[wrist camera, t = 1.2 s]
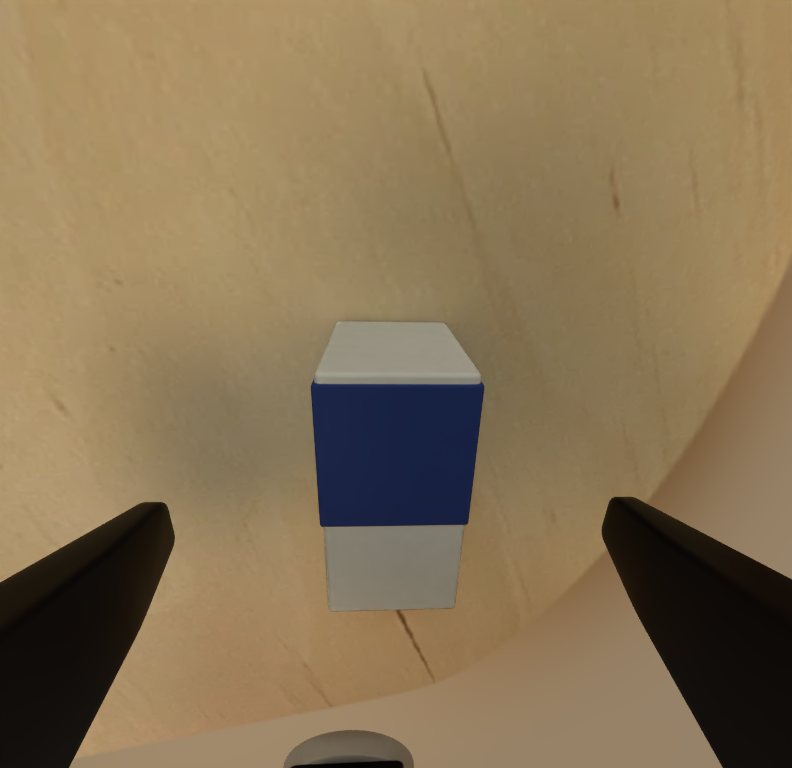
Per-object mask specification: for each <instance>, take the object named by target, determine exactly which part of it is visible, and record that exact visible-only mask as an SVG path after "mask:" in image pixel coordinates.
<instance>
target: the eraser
mask: <svg viewBox="0 0 792 768" xmlns="http://www.w3.org/2000/svg"><path fill="white" fill-rule="evenodd" d="M483 394H484V385H483V383H482V382H481V375H480V372H479V371H478V370H477V368H476V367H475V365H474V364H473V362H472V361H471V360H470V358H469V357H468V355H467V354H466V352H465V351H464V350H463V348H462V347H461V345H460V344H459V342H458V341H457V340H456V338H455V337H454V335H453V334H452V332H451V331H450V330H449V328H448V327H447V325H446V324H445V323H441V322H356V321H338V322H336V324H335V327H334V329H333V332H332V334H331V336H330V339H329V341H328V344H327V346H326V348H325V351H324V353H323V356H322V358H321V360H320V363H319V365H318V368H317V370H316V372H315V375H314V380H313V382H312V385H311V396H312V411H313V426H314V441H315V456H316V471H317V486H318V501H319V516H320V525H321V526H322V527H323V528H324V544H325V560H326V576H327V592H328V607H329V610H330V611H332V612H339V611H377V610H414V609H451V608H454V606H455V601H456V592H457V584H458V575H459V566H460V558H461V549H462V540H463V532H464V525H466V524H468V519H469V511H470V503H471V494H472V486H473V478H474V469H475V461H476V453H477V444H478V436H479V427H480V419H481V411H482V402H483Z"/></svg>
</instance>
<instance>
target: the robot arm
mask: <svg viewBox="0 0 792 768" xmlns="http://www.w3.org/2000/svg"><path fill="white" fill-rule="evenodd" d="M602 537H603V540H604V543H605V545H606V547H607V549H608V552H609V554H610V556H611V558H612V560H613V563H614V565H615V567H616V569H617V572H618V574H619V576H620V578H621V580H622V583H623V585H624V587H625V590H626V592H627V594H628V596H629V598H630V601H631V602H632V605H633V607H634V609H635V611H636V613H637V615H638V617H639V619H640V621H641V622H642V624H643V626H644V628H645V630H646V632H647V633H648V635H649V637H650V639H651V641H652V642H653V644H654V646H655V648H656V649H657V651H658V653H659V655H660V656H661V658H662V660H663V662H664V664H665V665H666V667H667V669H668V670H669V672H670V674H671V676H672V678H673V679H674V681H675V683H676V685H677V687H678V689H679V690H680V692H681V694H682V696H683V697H684V699H685V701H686V703H687V705H688V706H689V708H690V710H691V711H692V714H693V715H694V717H695V719H696V721H697V722H698V724H699V726H700V728H701V730H702V731H703V733H704V735H705V737H706V738H707V740H708V742H709V744H710V746H711V747H712V749H713V751H714V753H715V754H716V756H717V758H718V760H719V762H720V763H721V765H722V767H723V768H792V579H790V578H788V577H786V576H784V575H782V574H780V573H778V572H776V571H775V570H773V569H771V568H769V567H767V566H765V565H763V564H761V563H759V562H757V561H755V560H754V559H752V558H750V557H748V556H746V555H744V554H742V553H740V552H738V551H736V550H734V549H732V548H730V547H728V546H727V545H725V544H722V543H721V542H719V541H717V540H715V539H713V538H711V537H709V536H707V535H705V534H704V533H701V532H700V531H698V530H696V529H694V528H692V527H690V526H688V525H686V524H684V523H683V522H681V521H679V520H677V519H675V518H673V517H671V516H669V515H667V514H665V513H663V512H661V511H660V510H658V509H656V508H654V507H652V506H650V505H648V504H646V503H644V502H642V501H640V500H638V499H636V498H634V497H614V498H612V499H611V500H610V501H609V504H608V507H607V511H606V514H605V518H604V521H603V525H602ZM174 540H175V535H174V530H173V526H172V522H171V518H170V514H169V510H168V507H167V505H166V504H165V503H163V502H144V503H140V504H138V505H136V506H135V507H133V508H131V509H129V510H128V511H126V512H124V513H122V514H120V515H119V516H117V517H115V518H113V519H112V520H110V521H108V522H106V523H105V524H103V525H101V526H99V527H98V528H96V529H94V530H92V531H90V532H89V533H87V534H85V535H83V536H82V537H80V538H78V539H76V540H75V541H73V542H71V543H69V544H67V545H66V546H64V547H62V548H60V549H59V550H57V551H55V552H53V553H52V554H50V555H48V556H46V557H45V558H43V559H41V560H39V561H37V562H36V563H34V564H32V565H30V566H29V567H27V568H25V569H23V570H22V571H20V572H18V573H16V574H14V575H13V576H11V577H9V578H7V579H6V580H4V581H2V582H0V768H69V766H70V764H71V762H72V761H73V759H74V757H75V755H76V753H77V751H78V749H79V747H80V745H81V743H82V741H83V739H84V737H85V735H86V733H87V731H88V729H89V727H90V726H91V724H92V722H93V720H94V718H95V716H96V714H97V712H98V710H99V708H100V706H101V704H102V702H103V700H104V698H105V696H106V694H107V692H108V691H109V689H110V687H111V685H112V683H113V681H114V679H115V677H116V675H117V673H118V671H119V669H120V667H121V665H122V663H123V661H124V659H125V657H126V656H127V654H128V652H129V650H130V648H131V646H132V644H133V642H134V640H135V638H136V636H137V634H138V632H139V630H140V628H141V625H142V623H143V621H144V618H145V616H146V614H147V611H148V609H149V606H150V604H151V601H152V599H153V596H154V594H155V591H156V589H157V586H158V584H159V581H160V579H161V576H162V574H163V571H164V569H165V566H166V564H167V561H168V559H169V556H170V554H171V551H172V549H173V546H174ZM290 768H404V764H403V763H402V762H401V761H397V760H393V761H371V762H350V763H329V764H308V765H294V766H292V767H290Z"/></svg>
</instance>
